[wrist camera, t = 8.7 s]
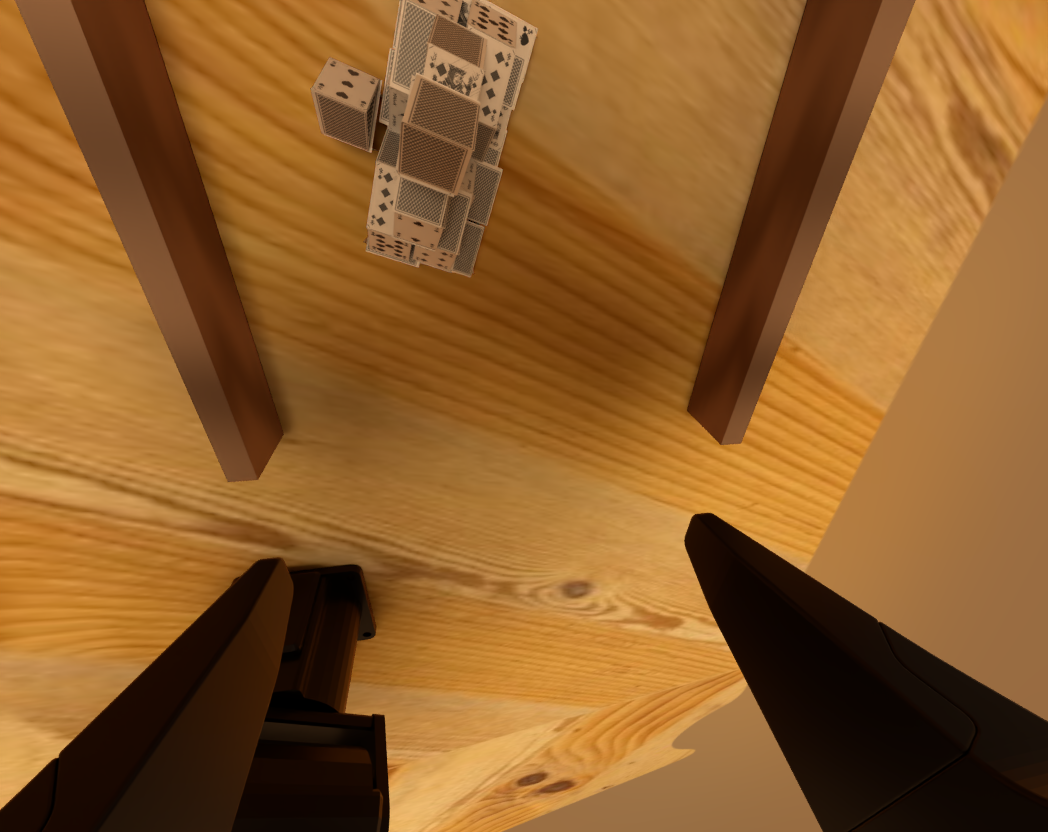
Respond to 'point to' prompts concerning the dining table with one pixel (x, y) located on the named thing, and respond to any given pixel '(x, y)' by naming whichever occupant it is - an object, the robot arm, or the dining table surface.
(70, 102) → the wooden arch
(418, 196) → the house of cards
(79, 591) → the dining table surface
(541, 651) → the dining table surface
